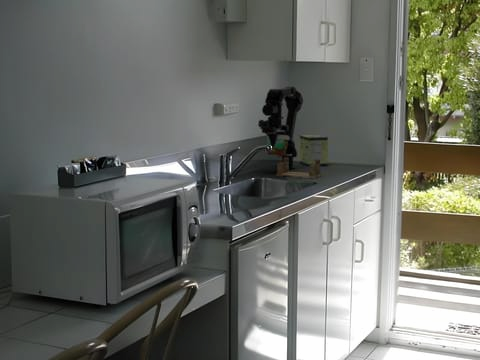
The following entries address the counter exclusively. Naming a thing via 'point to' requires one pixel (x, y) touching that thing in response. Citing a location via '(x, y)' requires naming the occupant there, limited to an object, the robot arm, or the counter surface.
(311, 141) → the protein box
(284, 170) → the bracket
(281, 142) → the food container
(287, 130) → the robot arm
